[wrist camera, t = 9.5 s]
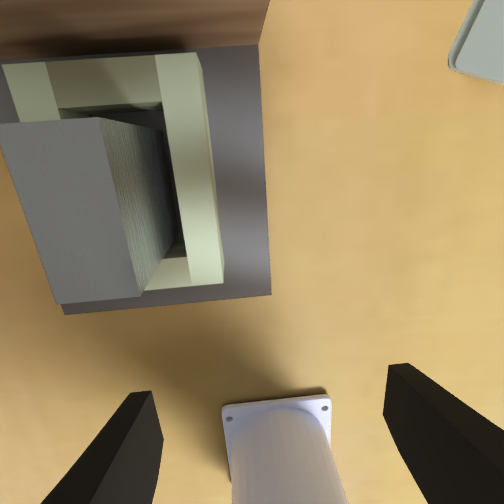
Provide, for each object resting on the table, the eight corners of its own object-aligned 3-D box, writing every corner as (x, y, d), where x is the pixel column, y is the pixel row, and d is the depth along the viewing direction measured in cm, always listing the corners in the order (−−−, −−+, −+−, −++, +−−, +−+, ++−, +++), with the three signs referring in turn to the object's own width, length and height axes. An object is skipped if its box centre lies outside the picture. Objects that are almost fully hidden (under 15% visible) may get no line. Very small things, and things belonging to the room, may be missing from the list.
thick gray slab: (179, 232, 15) (140, 296, 9) (131, 236, 15) (56, 304, 9) (162, 130, 14) (97, 116, 7) (108, 134, 14) (-7, 124, 7)
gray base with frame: (269, 287, 18) (286, 351, 12) (73, 305, 18) (-1, 381, 12) (254, 12, 13) (271, -88, 7) (-19, 28, 13) (-218, -66, 7)
